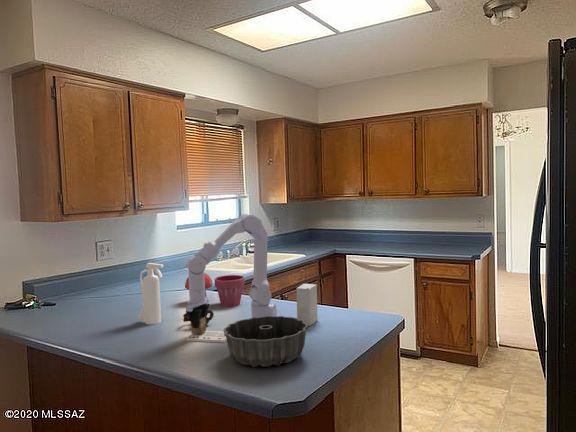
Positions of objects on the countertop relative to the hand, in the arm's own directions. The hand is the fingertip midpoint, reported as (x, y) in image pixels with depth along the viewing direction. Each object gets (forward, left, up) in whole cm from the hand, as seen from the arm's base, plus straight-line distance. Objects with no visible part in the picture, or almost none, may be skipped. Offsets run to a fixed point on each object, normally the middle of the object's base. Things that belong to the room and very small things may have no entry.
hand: (198, 325), depth 166 cm
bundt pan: (-31, +18, -4) cm, 36 cm away
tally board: (-5, +1, -4) cm, 6 cm away
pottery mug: (+6, -12, -4) cm, 14 cm away
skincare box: (-36, -21, -4) cm, 43 cm away
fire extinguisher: (+29, -14, -4) cm, 32 cm away
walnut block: (0, 0, -2) cm, 2 cm away
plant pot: (+7, -47, -4) cm, 48 cm away
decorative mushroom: (+24, -49, -4) cm, 55 cm away
